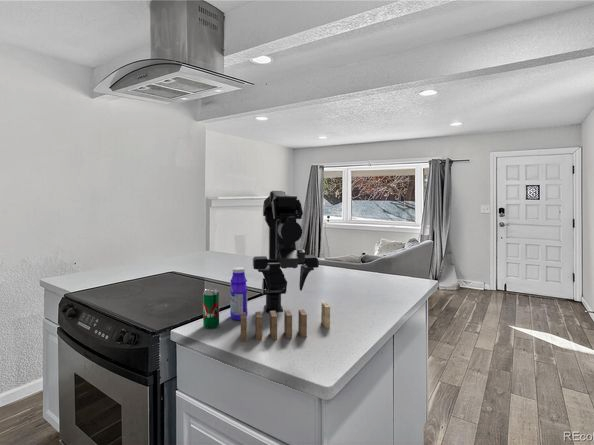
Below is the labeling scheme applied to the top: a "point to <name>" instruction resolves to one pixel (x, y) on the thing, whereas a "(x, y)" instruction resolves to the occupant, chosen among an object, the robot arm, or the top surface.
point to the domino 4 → (288, 323)
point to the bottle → (238, 293)
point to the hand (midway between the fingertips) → (285, 291)
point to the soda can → (210, 308)
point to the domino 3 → (273, 324)
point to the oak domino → (325, 315)
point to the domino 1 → (243, 326)
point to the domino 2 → (258, 325)
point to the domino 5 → (302, 323)
